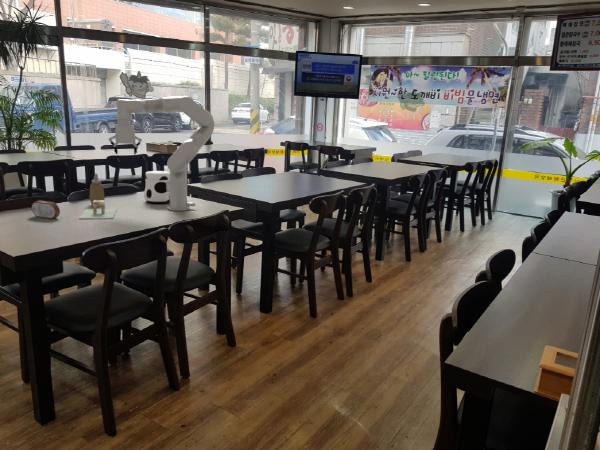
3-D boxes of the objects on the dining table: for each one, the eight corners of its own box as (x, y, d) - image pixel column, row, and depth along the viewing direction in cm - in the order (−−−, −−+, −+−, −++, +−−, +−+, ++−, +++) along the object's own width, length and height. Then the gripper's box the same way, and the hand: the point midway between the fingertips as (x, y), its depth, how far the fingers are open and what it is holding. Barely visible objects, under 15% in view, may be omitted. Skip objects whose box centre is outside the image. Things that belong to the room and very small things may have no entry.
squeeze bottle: (107, 204, 282) (106, 173, 278) (100, 206, 274) (99, 175, 270) (94, 203, 282) (92, 172, 278) (87, 205, 275) (85, 174, 270)
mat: (117, 209, 268) (117, 208, 268) (112, 218, 248) (112, 217, 247) (86, 210, 264) (85, 208, 264) (79, 219, 243) (78, 218, 243)
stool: (104, 212, 259) (104, 200, 257) (103, 214, 254) (103, 202, 252) (94, 212, 257) (94, 200, 256) (93, 214, 253) (92, 202, 251)
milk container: (144, 199, 301) (143, 170, 297) (173, 199, 306) (172, 170, 302) (144, 204, 285) (143, 174, 281) (174, 204, 290) (174, 174, 286)
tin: (60, 218, 243) (59, 202, 241) (56, 220, 240) (54, 203, 238) (35, 215, 246) (34, 199, 244) (31, 216, 243) (29, 200, 241)
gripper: (141, 123, 270) (142, 153, 274) (108, 121, 265) (109, 153, 269) (141, 123, 263) (141, 155, 267) (107, 122, 258) (108, 154, 262)
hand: (125, 154), depth 268 cm, fingers open, 9 cm apart
